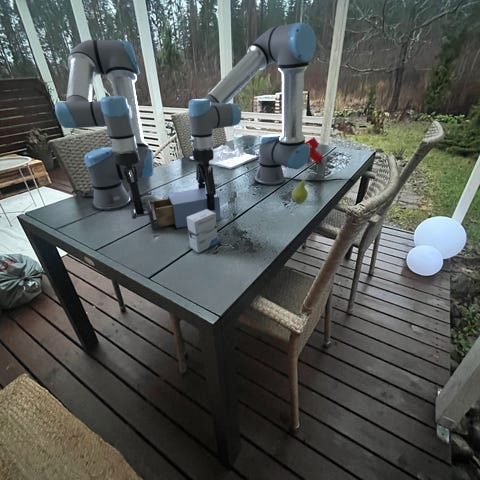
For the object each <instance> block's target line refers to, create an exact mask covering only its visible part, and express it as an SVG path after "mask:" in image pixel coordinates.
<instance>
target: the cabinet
mask: <svg viewBox="0 0 480 480" xmlns="http://www.w3.org/2000/svg"><path fill="white" fill-rule="evenodd" d="M206 194H207V190H206V187H205V188H200V189H199V188H195V189H188V190H182V191H175V192H169V193H167V198H169V199H170V201H171V203H172V205H173V211H174V217H175V223H176V224H174V225H175V228H176V229H180V228H184V227H188V225H187V217H188V216H190V215H193V214H195V213H198V212H201V211H203V210H206V209H208V208H207V196H206ZM214 201H215V210H212V212H214V213H216V221H219V220H221V219H222V218H221V200H220V195H219V194H218V193H217V192H216V195H214Z"/></svg>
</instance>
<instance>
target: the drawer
mask: <svg viewBox="0 0 480 480" xmlns="http://www.w3.org/2000/svg"><path fill="white" fill-rule="evenodd" d="M152 203H153V205H152V206H153V209H154V213H153V209H152V206H151V203H150V200H149V199H145V206H146V208H143V210H144V212H146V211H147V212H146V213H144V214H140V215H137V214H136V210H135V209H131V210H130V212H131V214H130V215H131V219H133V220H137V218H140V217H146V216H148V219H149V223H150V226H151V230H152V231H154V230H157V229H156V223H155V218H156V221H157V224H158V226H159V228H160V227H165V226H170V225H175V224H176V223H175V217H174V211H173V205H172V203H171V201H170V199H169V198H168V197H167V198H159V199H154V200H152ZM154 214H155V218H154Z"/></svg>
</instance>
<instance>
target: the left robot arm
mask: <svg viewBox="0 0 480 480" xmlns="http://www.w3.org/2000/svg"><path fill="white" fill-rule="evenodd" d="M67 67H68V70H69V75H68V81H67V82H68V83H67V90H66V91H67V92H66V98H65V99H66V100H65V101H61V102H57V103H55V105H54V110H55V111H54V112H55V115H56V119H57V121H58V123H59V124H60V126H62V128H64V129H83V128H98V127H99V128H100V127H101V128H103V127H106V130H107V134H108V138H109V140H108V144H109V145H111V147H102V148H101V147H100V148H97V149H94V150H90V151H88V152H87V153H86V154H85V155H84V157H83V159H84V163H85V168H86V170H87V173H88V176H89V179H90V182H91V185H92V188H93V194H86V191H84V190H82V189H72V191H71V194H74V193H76V192H77V193H78V192H80V193H82V194H81V197H83V198H93V200H92V204H93V207H94V208H95V209H96V210H99V211H114V210H119V209H122V208H124V207H126V206H128V205H129V204H130V203H131V202H133V206H134V210H136V215H140V214H145V211H144V210H143V209H144V206H143V202H142V198H143V195H142V194H140V190H139V185H138V182H139V179H144V178H151V177H152V176H153V175H154V166H155V163H154V152H153V149H152V148H150V147H149V144H148V143H147V142H146V141H145V140H144V134H143V129H142V128H143V127H142V122H141V117H140V111H139V105H138V104H139V103H138V100H137V94H136V87H135V83H136V81H137V79H138V75H140V74H141V73H140V68H139V65H138V61H137V57H136V54H135V50H134V47H133V45H132V43H131V42H130V41H128V40H122V39H116V40H115V39H114V40H113V39H87V40H84V41H82V42H80V43H78V44H76V46H74V47H73V49H71V51H70V53H69V54H68V57H67ZM101 75H102V76H106V78H107V80H108V81H109V82H110V83H111V87H112V92H113V95H110V96H102V97H101V98H100V100H97V101H94V100H93V92H94V79H95V78H96V76H101ZM123 180H126V182H127V184H129V188H130V193H131V196H130V194H129V193H128V191H127V189H126V188H125V187H124V185H123V182H122V181H123Z"/></svg>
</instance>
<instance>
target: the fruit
mask: <svg viewBox="0 0 480 480" xmlns="http://www.w3.org/2000/svg"><path fill="white" fill-rule="evenodd" d="M310 177H311V175H310V174H309V175H308V176H307V177H305V179H301V180H302V181H299V182H298V184H297V185H296V186H295V187H294V188H293V190H292V191H291V198H292V200H293V201H294V202H295V203H297V204H301V203H304V202H305V201H306V200H307V198H308V196H309V195H308V190H307V189H306V184H305V183H306V181H305V180H308V179H309V178H310Z"/></svg>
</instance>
